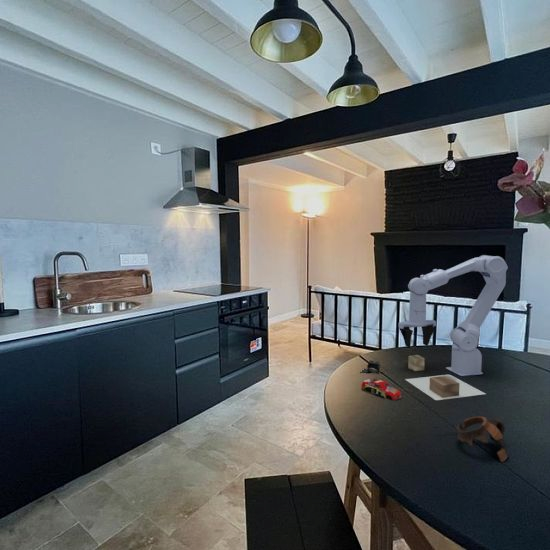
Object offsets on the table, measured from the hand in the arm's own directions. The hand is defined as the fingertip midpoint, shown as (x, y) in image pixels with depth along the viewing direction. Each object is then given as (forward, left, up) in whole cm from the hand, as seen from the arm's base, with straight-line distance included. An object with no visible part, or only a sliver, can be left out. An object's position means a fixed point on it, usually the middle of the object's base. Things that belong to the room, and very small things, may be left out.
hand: (416, 345), depth 125 cm
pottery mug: (+14, +46, -10) cm, 49 cm away
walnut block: (+4, +20, -9) cm, 22 cm away
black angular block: (+17, -1, -10) cm, 20 cm away
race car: (+23, +15, -10) cm, 29 cm away
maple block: (0, 0, -10) cm, 10 cm away
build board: (+1, +16, -9) cm, 19 cm away
